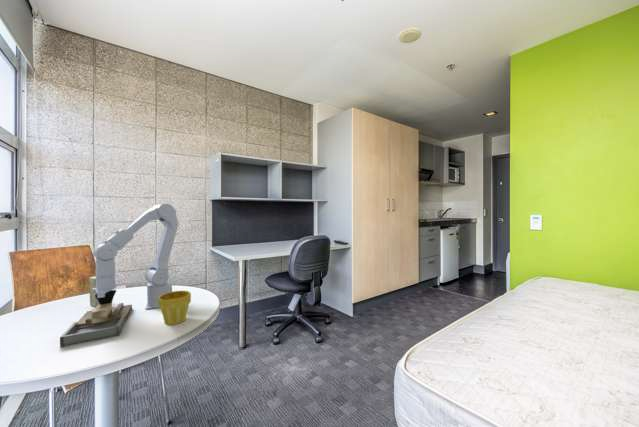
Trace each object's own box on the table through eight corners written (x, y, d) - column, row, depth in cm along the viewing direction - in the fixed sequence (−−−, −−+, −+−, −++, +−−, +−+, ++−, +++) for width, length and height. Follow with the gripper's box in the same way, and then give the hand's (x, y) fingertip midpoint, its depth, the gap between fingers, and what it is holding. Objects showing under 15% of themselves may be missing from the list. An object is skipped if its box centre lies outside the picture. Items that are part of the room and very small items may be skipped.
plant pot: (183, 326, 89) (182, 299, 88) (152, 328, 88) (151, 300, 88) (195, 314, 99) (195, 289, 99) (168, 316, 98) (167, 290, 98)
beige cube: (109, 317, 93) (109, 306, 93) (106, 321, 89) (106, 309, 89) (95, 319, 91) (95, 308, 91) (91, 323, 87) (91, 312, 87)
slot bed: (131, 309, 106) (131, 301, 106) (125, 321, 93) (125, 313, 93) (87, 316, 99) (87, 308, 99) (74, 330, 87) (74, 321, 87)
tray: (125, 322, 93) (125, 313, 93) (118, 335, 83) (118, 326, 83) (74, 331, 86) (74, 322, 86) (60, 347, 76) (59, 337, 76)
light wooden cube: (112, 313, 96) (112, 302, 96) (109, 317, 93) (109, 306, 93) (98, 315, 94) (98, 304, 94) (95, 319, 91) (95, 308, 91)
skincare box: (107, 304, 112) (106, 276, 112) (94, 307, 108) (94, 278, 108) (101, 301, 116) (101, 274, 116) (89, 304, 112) (88, 276, 112)
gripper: (97, 273, 101) (98, 307, 101) (85, 281, 88) (86, 320, 88) (119, 270, 105) (120, 303, 105) (111, 278, 92) (112, 316, 92)
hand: (106, 311), depth 97 cm, fingers closed
